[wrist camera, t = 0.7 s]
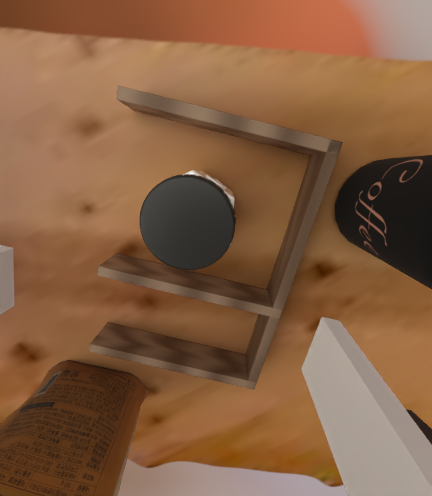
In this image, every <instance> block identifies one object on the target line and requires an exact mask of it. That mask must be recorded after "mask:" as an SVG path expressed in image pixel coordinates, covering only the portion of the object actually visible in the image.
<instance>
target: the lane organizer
mask: <svg viewBox="0 0 432 496" xmlns="http://www.w3.org/2000/svg"><path fill="white" fill-rule="evenodd" d="M117 100H119V101H120V102H122V103H123V104H125V105H126V106H128V107H129V108H131V109H133V110H134V111H137V112H141V113H145V114H149V115H153V116H157V117H161V118H165V119H169V120H173V121H177V122H181V123H185V124H189V125H193V126H197V127H201V128H205V129H209V130H213V131H217V132H220V133H224V134H228V135H232V136H236V137H240V138H244V139H248V140H252V141H256V142H260V143H264V144H268V145H272V146H276V147H280V148H284V149H288V150H292V151H296V152H300V153H304V154H308V155H311V157H310V160H309V163H308V166H307V169H306V172H305V175H304V178H303V181H302V184H301V187H300V190H299V193H298V196H297V199H296V202H295V205H294V208H293V212H292V215H291V218H290V221H289V224H288V227H287V230H286V233H285V236H284V239H283V242H282V245H281V248H280V251H279V254H278V257H277V260H276V263H275V266H274V270H273V273H272V276H271V279H270V282H269V285H268V288H267V289H263V288H258V287H254V286H250V285H246V284H242V283H238V282H233V281H229V280H225V279H221V278H217V277H213V276H208V275H204V274H200V273H196V272H192V271H188V270H183V269H177V268H174V267H171V266H167V265H163V264H158V263H154V262H150V261H146V260H142V259H138V258H133V257H129V256H125V255H121V254H117V253H116V254H115V255H114V256H112V257H111V258H109V259H108V260H107V261H105V262H104V263H103V264H101V265H100V266H99V267H98V276H102V277H106V278H110V279H114V280H118V281H123V282H127V283H131V284H135V285H139V286H144V287H148V288H152V289H156V290H161V291H165V292H169V293H173V294H177V295H182V296H186V297H190V298H194V299H198V300H203V301H207V302H211V303H215V304H219V305H224V306H228V307H232V308H236V309H240V310H245V311H249V312H253V313H257V314H259V315H258V318H257V321H256V324H255V327H254V331H253V334H252V337H251V340H250V343H249V346H248V349H247V352H246V355H244V354H240V353H236V352H232V351H227V350H223V349H219V348H215V347H210V346H206V345H202V344H197V343H193V342H189V341H185V340H180V339H176V338H172V337H168V336H163V335H159V334H155V333H150V332H146V331H142V330H138V329H133V328H129V327H125V326H121V325H116V324H112V323H107V324H106V325H105V326H104V328H103V329H102V330H101V331H100V333H99V334H98V335H97V336H96V338H95V339H94V340H93V341H92V342H91V344H90V351H89V352H94V353H98V354H102V355H107V356H111V357H115V358H119V359H124V360H128V361H132V362H137V363H141V364H145V365H150V366H154V367H158V368H163V369H167V370H171V371H176V372H180V373H184V374H189V375H193V376H197V377H202V378H206V379H210V380H215V381H219V382H223V383H227V384H232V385H236V386H240V387H245V388H249V389H253V390H254V389H255V386H256V383H257V380H258V378H259V375H260V372H261V369H262V366H263V364H264V361H265V358H266V355H267V352H268V350H269V347H270V344H271V341H272V338H273V336H274V333H275V330H276V327H277V324H278V322H279V319H280V316H281V313H282V310H283V308H284V305H285V302H286V299H287V296H288V294H289V291H290V288H291V285H292V282H293V280H294V277H295V274H296V271H297V268H298V266H299V263H300V260H301V257H302V254H303V252H304V249H305V246H306V243H307V240H308V238H309V235H310V232H311V229H312V227H313V224H314V221H315V218H316V215H317V213H318V210H319V207H320V204H321V201H322V199H323V196H324V193H325V190H326V187H327V185H328V182H329V179H330V176H331V173H332V171H333V168H334V165H335V162H336V159H337V157H338V154H339V151H340V148H341V145H342V143H343V142H339V141H335V140H331V139H327V138H323V137H320V136H316V135H312V134H308V133H304V132H300V131H296V130H292V129H288V128H284V127H280V126H276V125H272V124H268V123H264V122H260V121H256V120H252V119H249V118H245V117H241V116H237V115H233V114H229V113H225V112H221V111H217V110H213V109H209V108H205V107H201V106H197V105H193V104H189V103H185V102H181V101H177V100H174V99H170V98H166V97H162V96H158V95H154V94H150V93H146V92H142V91H138V90H134V89H130V88H126V87H122V86H118V89H117Z"/></svg>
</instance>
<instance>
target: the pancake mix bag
mask: <svg viewBox="0 0 432 496" xmlns="http://www.w3.org/2000/svg"><path fill="white" fill-rule="evenodd" d="M148 392H149V391H148V390H147V388H146V387H145V386H144V385H143V383H142V382H141V381H140V380H139V379H138V378H137V377H135V376H134V375H132V374H130V373H126V372H121V371H116V370H111V369H107V368H102V367H96V366H91V365H86V364H82V363H78V362H74V361H70V360H67V361H64V362H61V363H59V364H57V365H56V366H54V367H53V368H52V369H50V370H49V371H48V373H47V374H46V376H45V378H44V379H43V381H42V383H41V384H40V386H39V387H38V389H37V390H36V391H35V393H34V394H33V395H32V396H31V397H30V398H29V399H28V400H27V401H26V402H25V403H24V404H22V405H21V406H20V407H19V408H18V409H17V410H16V411H14V412H13V413H12V414H11V415H9V416H8V417H7V418H6V419H5V420H4V422H3V423H2V424H1V425H0V496H117V495H118V492H119V488H120V484H121V480H122V476H123V472H124V468H125V465H126V461H127V457H128V452H129V449H130V445H131V442H132V439H133V436H134V433H135V429H136V424H137V420H138V415H139V410H140V406H141V404H142V402H143V401H144V399H145V397H146V396H147V394H148Z"/></svg>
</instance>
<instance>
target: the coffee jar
mask: <svg viewBox="0 0 432 496" xmlns="http://www.w3.org/2000/svg"><path fill="white" fill-rule="evenodd" d="M335 216H336V222H337V225H338V227H339V230H340V232H341V233H342V234H343V235H344V236H345V238H346V239H347V240H348V241H349V242H351V243H353V244H355V245H356V246H358V247H360V248H361V249H363V250H365V251H367V252H368V253H370V254H372V255H374V256H375V257H377V258H379V259H381V260H382V261H384V262H386V263H387V264H389V265H391V266H393V267H394V268H396V269H398V270H400V271H401V272H403V273H405V274H406V275H408V276H410V277H412V278H413V279H415V280H417V281H419V282H420V283H422V284H424V285H425V286H427V287H429V288H431V289H432V155H426V156H414V157H403V158H391V159H384V160H378V161H374V162H372V163H369V164H367V165H365V166H363V167H361V168H360V169H358V170H357V171H356V172H355V173H354V174H353V175H352V176H350V177H349V178H348V179H347V181H346V182H345V184H344V185H343V187H342V189H341V190H340V192H339V195H338V198H337V201H336V205H335Z"/></svg>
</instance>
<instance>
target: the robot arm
mask: <svg viewBox="0 0 432 496" xmlns="http://www.w3.org/2000/svg"><path fill="white" fill-rule="evenodd" d="M13 306H14V254H13V248H12V247H7V246H3V245H0V314H2V313H4V312H5V311H7V310H9V309H10V308H12V307H13ZM302 372H303V375H304V378H305V380H306V383H307V386H308V388H309V391H310V394H311V397H312V399H313V402H314V405H315V407H316V410H317V413H318V416H319V418H320V421H321V424H322V426H323V429H324V432H325V435H326V437H327V440H328V443H329V446H330V448H331V451H332V454H333V456H334V459H335V462H336V465H337V467H338V470H339V473H340V475H341V478H342V481H343V484H344V486H345V489H346V492H347V494H348V496H432V429H431V428H430V427H429V426H428V425H427V424H425V423H424V422H423V421H422V420H421V419H420V418H419V417H418V416H417V415H416V414H415V413H413V412H412V411H411V410H406V409H405V408H404V407H403V405H402V404H401V403H400V401H399V400H398V399H397V397H396V396H395V395H394V393H393V392H392V391H391V389H390V388H389V387H388V385H387V384H386V383H385V381H384V380H383V379H382V377H381V376H380V375H379V373H378V372H377V371H376V369H375V368H374V366H373V365H372V364H371V362H370V361H369V360H368V358H367V357H366V356H365V354H364V353H363V352H362V350H361V349H360V348H359V346H358V345H357V344H356V342H355V341H354V340H353V338H352V337H351V336H350V334H349V333H348V332H347V330H346V329H345V327H344V326H343V325H342V323H341V322H340V321H338V320H334V319H329V318H325V317H322V318H321V320H320V323H319V325H318V328H317V331H316V333H315V336H314V338H313V341H312V343H311V346H310V348H309V351H308V353H307V356H306V358H305V361H304V364H303V366H302Z"/></svg>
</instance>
